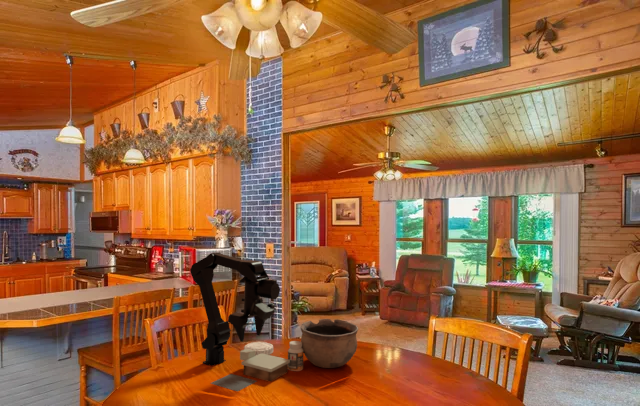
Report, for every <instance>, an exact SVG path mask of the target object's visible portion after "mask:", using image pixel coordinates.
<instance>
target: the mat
mask: <svg viewBox="0 0 640 406" xmlns="http://www.w3.org/2000/svg"><path fill="white" fill-rule="evenodd" d="M257 382H258V380H255V379H251V378H248V377H244V376H240V375H237V374H233V373H229V374H227V375H225V376H223V377H221V378H219V379H217V380H215V381H214V380H213V381H212V382H210V384H211V385H215V386H218V387H221V388H224V389H227V390H232V391H235V392H239V391H242V390H243V389H245V388H247V387H249V386H251V385H253V384H255V383H257Z"/></svg>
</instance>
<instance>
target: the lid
mask: <svg viewBox="0 0 640 406" xmlns="http://www.w3.org/2000/svg"><path fill="white" fill-rule="evenodd" d="M239 360H240V361H241V366H244V365H245V366H249V367H253V368H257V369H260V370H264V371H268V372H272V371H274V370H276V369H278V368H280V367H282V366H284V365H286V364H288V363H290V360H289V359H288V358H283V357H281V356H275V355H272V354H270V355H267V354H262V353H261V354H258V355H256V356H255V350H251V349H245V350H244V349H241V350H240V351H239Z"/></svg>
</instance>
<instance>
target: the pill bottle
mask: <svg viewBox="0 0 640 406" xmlns="http://www.w3.org/2000/svg"><path fill="white" fill-rule="evenodd" d="M301 347H302V342H301V340H291V341H289V348H288V349H287V359H289V360H290V363H288V370H289V371H292V372H300V371H302V370H303V369H304V353H303V349H302V348H301Z"/></svg>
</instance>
